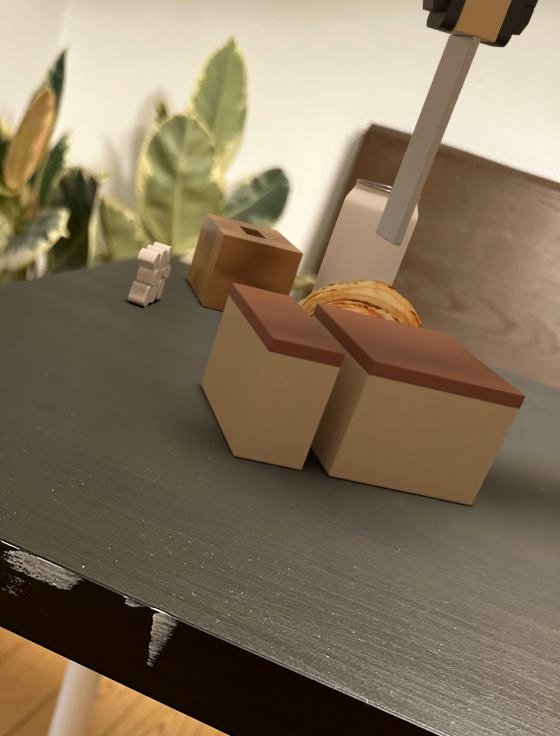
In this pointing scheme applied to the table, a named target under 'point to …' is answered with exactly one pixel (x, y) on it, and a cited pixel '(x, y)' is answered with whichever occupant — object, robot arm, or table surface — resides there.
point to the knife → (439, 111)
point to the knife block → (240, 260)
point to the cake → (410, 409)
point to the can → (363, 240)
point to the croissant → (364, 300)
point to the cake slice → (269, 376)
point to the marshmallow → (151, 273)
